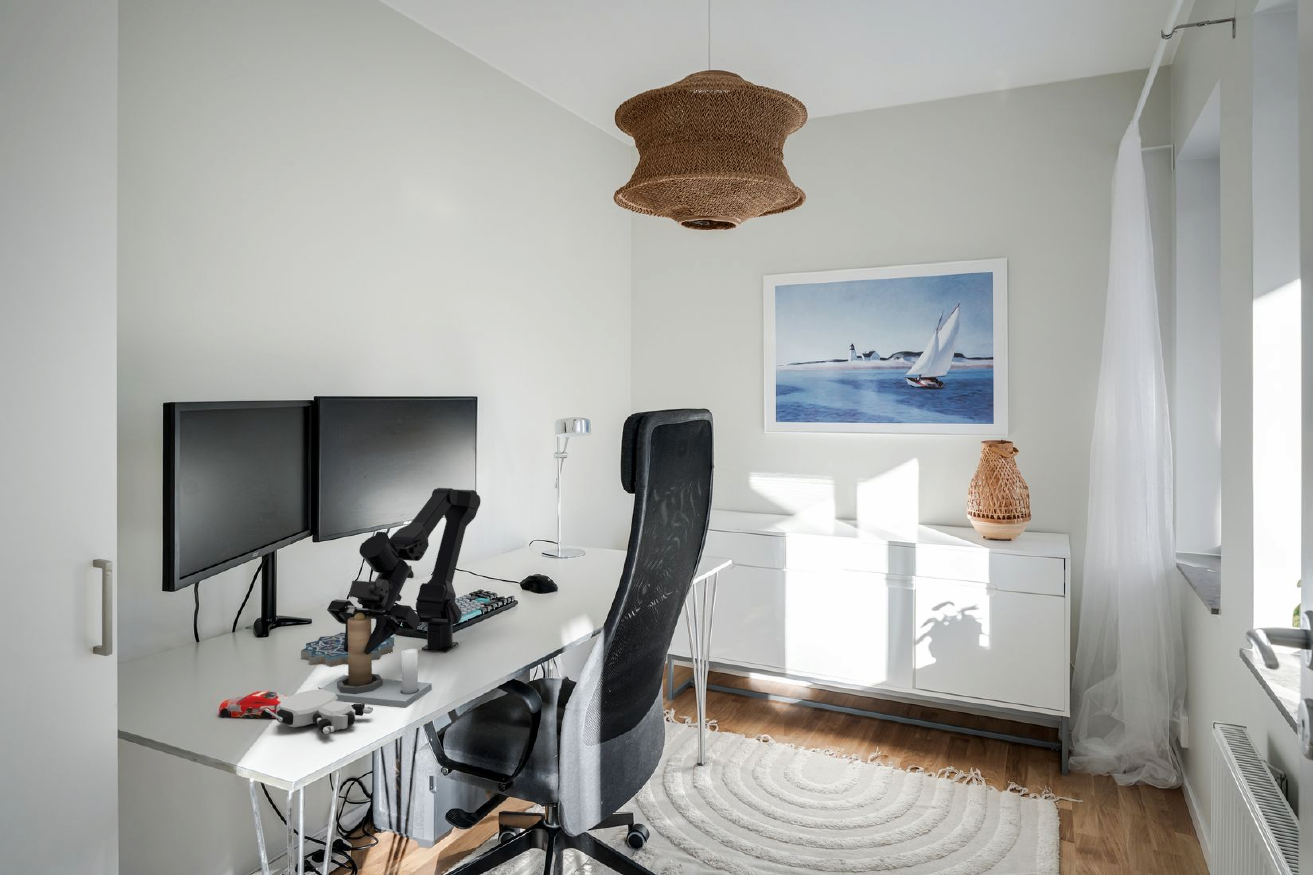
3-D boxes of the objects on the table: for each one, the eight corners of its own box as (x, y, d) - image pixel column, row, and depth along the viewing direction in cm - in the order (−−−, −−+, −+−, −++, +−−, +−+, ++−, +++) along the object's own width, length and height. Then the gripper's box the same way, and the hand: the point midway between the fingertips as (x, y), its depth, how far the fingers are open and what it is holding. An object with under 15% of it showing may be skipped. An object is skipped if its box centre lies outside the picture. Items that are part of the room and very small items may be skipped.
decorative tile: (369, 635, 196) (369, 626, 196) (409, 653, 182) (409, 643, 182) (287, 653, 181) (287, 643, 181) (324, 674, 168) (324, 663, 167)
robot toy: (377, 723, 144) (315, 705, 149) (378, 699, 143) (316, 682, 149) (326, 750, 132) (261, 729, 138) (327, 724, 132) (262, 704, 138)
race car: (212, 719, 143) (211, 697, 143) (230, 708, 149) (230, 687, 149) (280, 721, 142) (280, 700, 142) (296, 710, 148) (296, 689, 147)
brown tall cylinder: (352, 679, 158) (351, 610, 158) (374, 678, 159) (373, 609, 158) (345, 687, 154) (344, 616, 153) (368, 686, 154) (367, 615, 154)
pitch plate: (344, 680, 163) (343, 637, 162) (431, 688, 158) (431, 644, 158) (313, 698, 153) (312, 651, 153) (405, 707, 149) (405, 659, 148)
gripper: (332, 560, 162) (295, 628, 151) (411, 566, 157) (378, 636, 146) (357, 589, 170) (323, 655, 159) (433, 595, 165) (403, 664, 154)
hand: (355, 652), depth 155 cm, fingers closed on brown tall cylinder, 4 cm apart
